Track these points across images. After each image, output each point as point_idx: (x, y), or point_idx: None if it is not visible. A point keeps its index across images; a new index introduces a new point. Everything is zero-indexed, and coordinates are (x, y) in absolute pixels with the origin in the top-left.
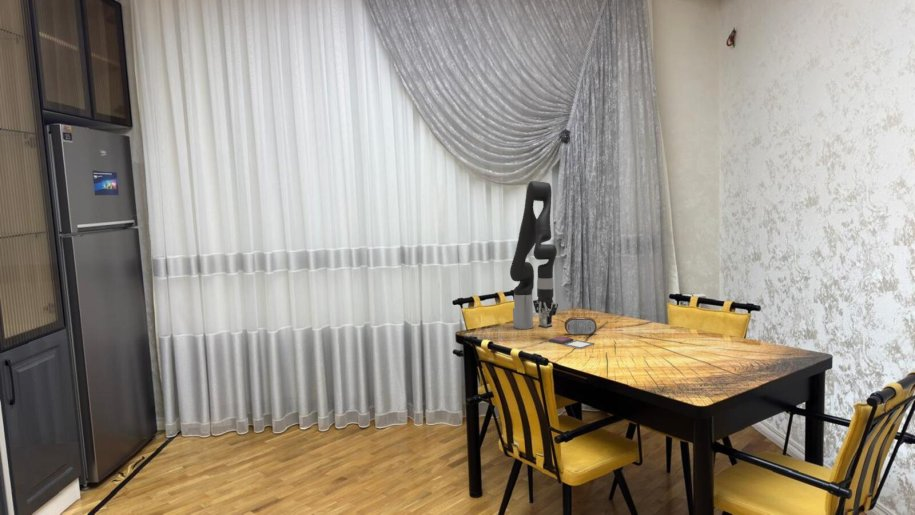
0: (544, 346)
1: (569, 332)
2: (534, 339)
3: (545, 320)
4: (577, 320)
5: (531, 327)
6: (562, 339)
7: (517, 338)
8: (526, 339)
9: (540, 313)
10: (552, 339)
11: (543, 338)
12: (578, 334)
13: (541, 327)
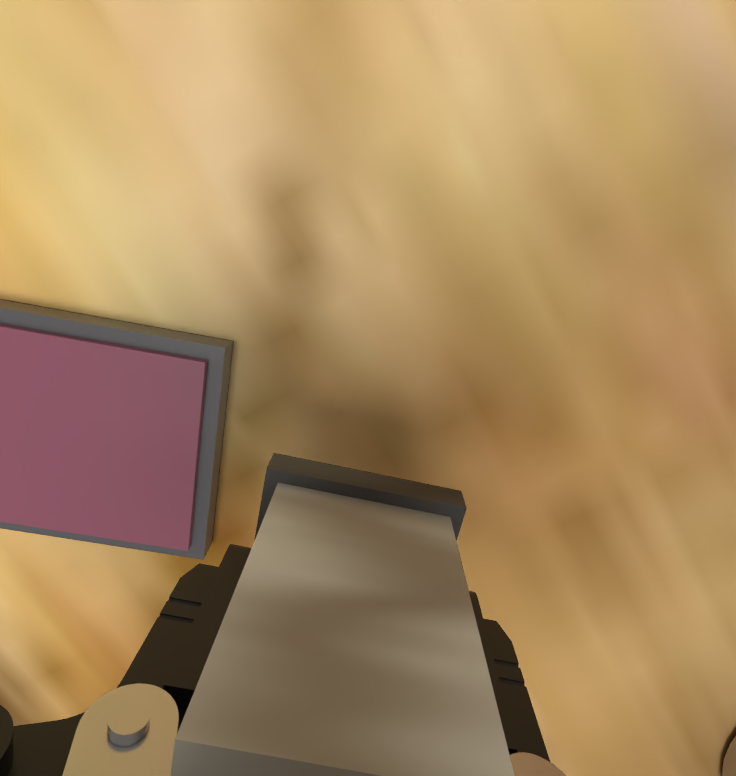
0: (122, 55)
1: None
2: (463, 349)
3: (253, 566)
4: None
5: (729, 760)
6: (39, 410)
7: (712, 279)
8: (566, 294)
9: (448, 763)
10: (162, 353)
11: (382, 448)
12: None
13: (383, 476)
